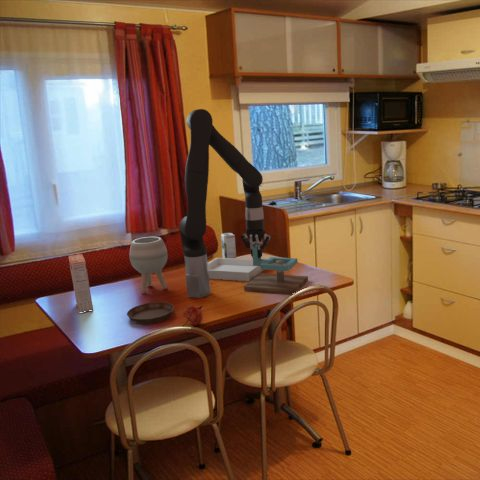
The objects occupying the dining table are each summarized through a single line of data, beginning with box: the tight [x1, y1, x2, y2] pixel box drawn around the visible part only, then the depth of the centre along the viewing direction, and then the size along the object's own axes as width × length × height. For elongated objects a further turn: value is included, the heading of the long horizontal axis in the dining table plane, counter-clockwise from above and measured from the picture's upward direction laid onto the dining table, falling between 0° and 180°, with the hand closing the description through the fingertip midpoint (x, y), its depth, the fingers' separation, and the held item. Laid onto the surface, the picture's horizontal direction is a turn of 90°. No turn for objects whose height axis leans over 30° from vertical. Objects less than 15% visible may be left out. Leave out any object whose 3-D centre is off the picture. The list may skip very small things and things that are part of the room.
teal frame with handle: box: [252, 244, 299, 272], centre depth 227 cm, size 12×17×8 cm
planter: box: [128, 236, 168, 295], centre depth 235 cm, size 16×16×22 cm
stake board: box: [243, 260, 309, 295], centre depth 228 cm, size 18×22×11 cm
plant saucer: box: [126, 301, 175, 325], centre depth 205 cm, size 18×18×3 cm
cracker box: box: [68, 253, 94, 313], centre depth 219 cm, size 14×6×21 cm, turn 21°
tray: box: [208, 257, 266, 282], centre depth 252 cm, size 20×26×4 cm
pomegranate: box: [182, 305, 204, 327], centre depth 194 cm, size 7×7×10 cm
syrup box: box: [220, 232, 237, 259], centre depth 269 cm, size 6×6×14 cm
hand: (256, 257), depth 230 cm, fingers closed on teal frame with handle
